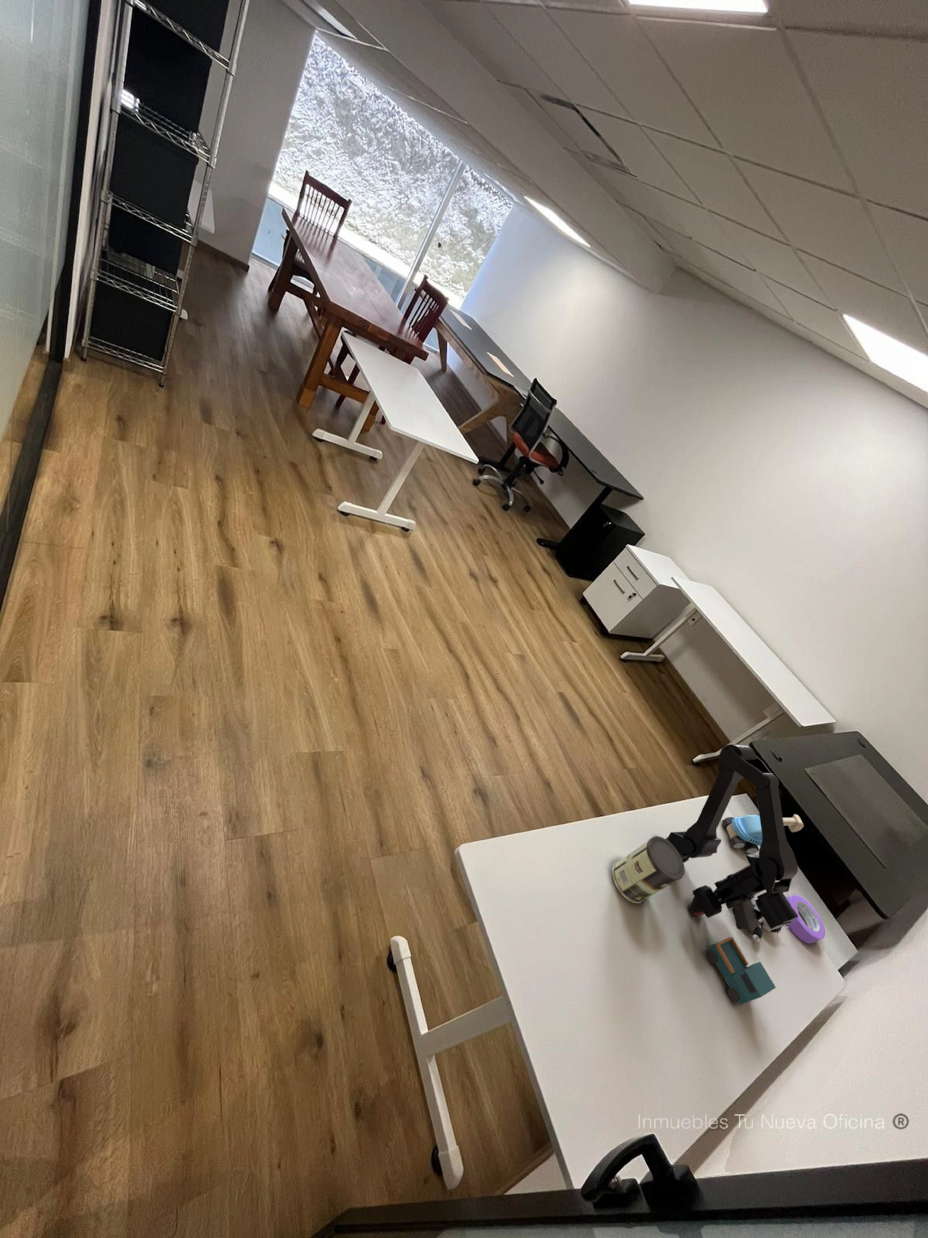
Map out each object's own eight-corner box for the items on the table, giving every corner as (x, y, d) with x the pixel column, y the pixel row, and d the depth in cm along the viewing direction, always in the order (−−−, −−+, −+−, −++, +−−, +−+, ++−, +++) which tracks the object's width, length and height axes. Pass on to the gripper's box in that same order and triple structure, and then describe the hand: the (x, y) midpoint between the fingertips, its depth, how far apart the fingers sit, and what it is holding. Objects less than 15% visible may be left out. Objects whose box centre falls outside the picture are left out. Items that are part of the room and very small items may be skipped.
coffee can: (651, 890, 135) (691, 866, 127) (633, 912, 127) (674, 888, 119) (623, 854, 139) (660, 829, 131) (604, 872, 131) (642, 847, 124)
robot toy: (749, 949, 138) (779, 931, 147) (762, 943, 136) (791, 926, 144) (719, 900, 145) (748, 886, 154) (731, 894, 143) (760, 880, 151)
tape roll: (821, 941, 153) (832, 936, 151) (799, 946, 147) (811, 941, 145) (794, 898, 161) (805, 893, 158) (773, 901, 155) (783, 896, 153)
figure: (687, 913, 135) (711, 900, 131) (687, 900, 139) (710, 887, 134) (699, 922, 135) (724, 909, 131) (699, 908, 138) (723, 896, 134)
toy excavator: (766, 861, 167) (813, 836, 157) (727, 847, 162) (772, 820, 152) (755, 835, 173) (799, 810, 164) (717, 821, 169) (760, 794, 159)
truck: (702, 950, 129) (726, 938, 125) (718, 942, 134) (742, 931, 129) (734, 1007, 122) (760, 997, 118) (750, 997, 127) (776, 987, 122)
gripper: (748, 928, 117) (697, 952, 126) (787, 910, 128) (738, 933, 136) (716, 877, 124) (670, 903, 132) (756, 863, 134) (711, 888, 143)
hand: (698, 908), depth 136 cm, fingers open, 8 cm apart
